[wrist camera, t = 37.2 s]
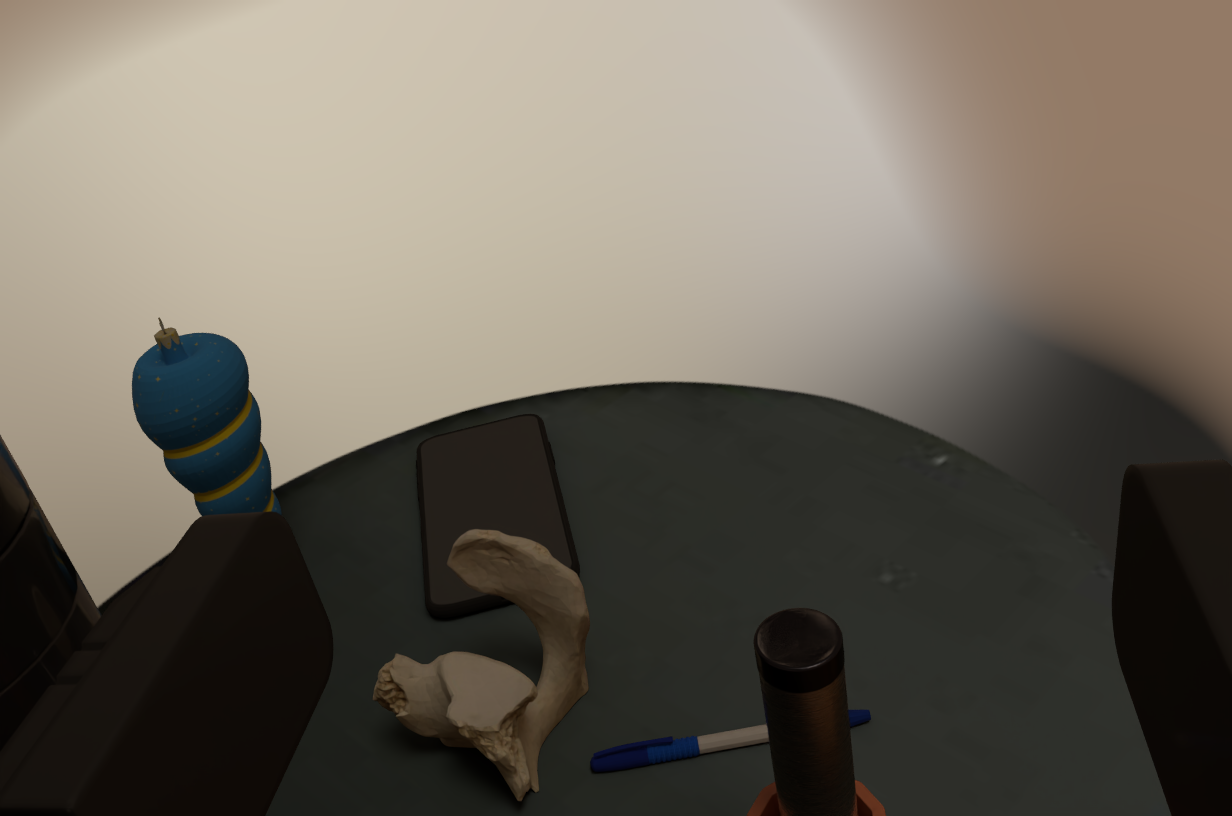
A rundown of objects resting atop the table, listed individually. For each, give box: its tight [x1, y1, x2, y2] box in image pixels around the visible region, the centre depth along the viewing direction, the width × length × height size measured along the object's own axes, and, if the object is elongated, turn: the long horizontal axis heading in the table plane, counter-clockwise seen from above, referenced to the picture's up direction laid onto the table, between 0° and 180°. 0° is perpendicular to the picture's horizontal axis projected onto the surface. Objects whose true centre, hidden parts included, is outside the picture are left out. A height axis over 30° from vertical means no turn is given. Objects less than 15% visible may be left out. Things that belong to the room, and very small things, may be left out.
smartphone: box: [416, 414, 580, 618], centre depth 56 cm, size 7×1×15 cm
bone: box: [372, 529, 590, 801], centre depth 41 cm, size 9×6×10 cm
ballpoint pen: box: [590, 710, 871, 772], centre depth 40 cm, size 10×1×1 cm, turn 96°
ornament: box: [132, 318, 282, 516], centre depth 50 cm, size 5×5×15 cm
